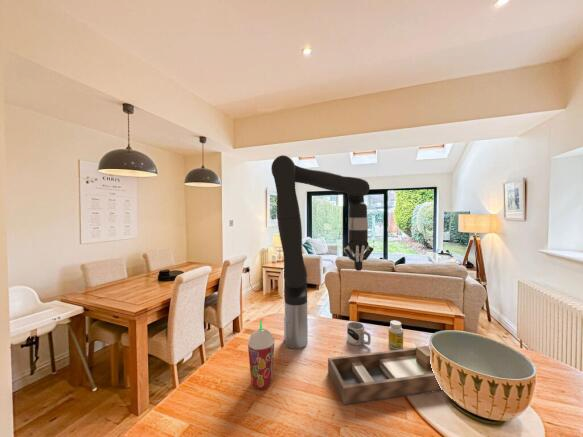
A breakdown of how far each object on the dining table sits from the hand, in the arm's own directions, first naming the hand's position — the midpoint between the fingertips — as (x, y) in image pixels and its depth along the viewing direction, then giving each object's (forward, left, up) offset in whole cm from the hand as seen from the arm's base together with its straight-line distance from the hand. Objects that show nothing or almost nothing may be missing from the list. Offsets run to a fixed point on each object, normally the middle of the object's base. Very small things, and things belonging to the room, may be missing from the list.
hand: (358, 270), depth 102 cm
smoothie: (-41, -19, -29) cm, 54 cm away
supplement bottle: (+12, -8, -29) cm, 33 cm away
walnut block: (+13, -25, -26) cm, 38 cm away
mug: (-1, -3, -29) cm, 29 cm away
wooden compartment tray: (-1, -25, -29) cm, 38 cm away
